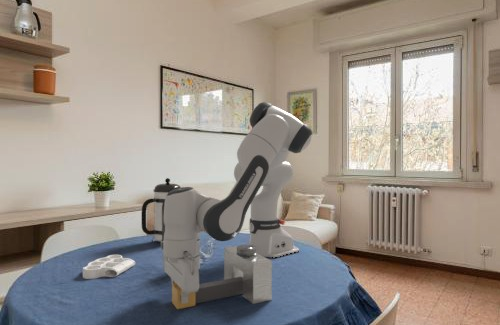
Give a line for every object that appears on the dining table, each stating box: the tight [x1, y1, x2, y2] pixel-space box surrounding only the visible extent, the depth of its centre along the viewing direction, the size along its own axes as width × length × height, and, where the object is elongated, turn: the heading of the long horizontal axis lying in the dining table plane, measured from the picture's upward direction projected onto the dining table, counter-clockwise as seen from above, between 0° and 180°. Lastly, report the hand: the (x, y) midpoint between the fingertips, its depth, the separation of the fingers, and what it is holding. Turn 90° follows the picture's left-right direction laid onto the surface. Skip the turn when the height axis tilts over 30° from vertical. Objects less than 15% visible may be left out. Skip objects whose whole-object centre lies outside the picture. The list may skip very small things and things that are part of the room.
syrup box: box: [193, 231, 201, 270], centre depth 123 cm, size 6×6×14 cm
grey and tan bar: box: [171, 277, 243, 310], centre depth 99 cm, size 21×5×5 cm, turn 119°
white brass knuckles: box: [82, 254, 136, 280], centre depth 122 cm, size 3×18×15 cm
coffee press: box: [141, 177, 181, 243], centre depth 161 cm, size 17×16×30 cm
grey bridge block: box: [223, 244, 273, 305], centre depth 105 cm, size 6×19×13 cm, turn 29°
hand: (180, 298), depth 94 cm, fingers closed on grey and tan bar, 5 cm apart
